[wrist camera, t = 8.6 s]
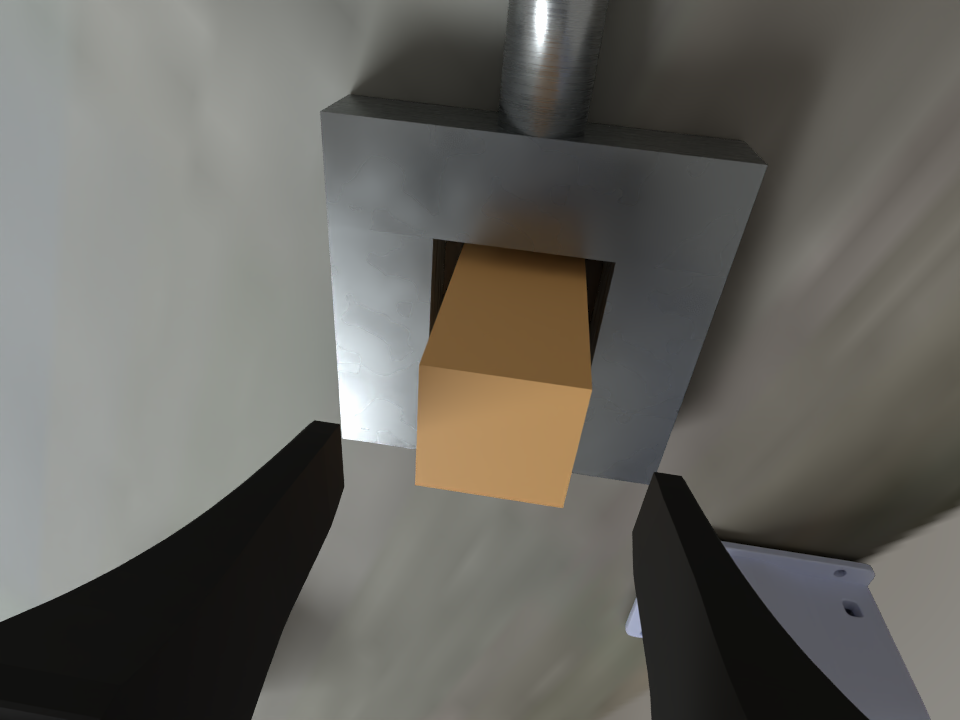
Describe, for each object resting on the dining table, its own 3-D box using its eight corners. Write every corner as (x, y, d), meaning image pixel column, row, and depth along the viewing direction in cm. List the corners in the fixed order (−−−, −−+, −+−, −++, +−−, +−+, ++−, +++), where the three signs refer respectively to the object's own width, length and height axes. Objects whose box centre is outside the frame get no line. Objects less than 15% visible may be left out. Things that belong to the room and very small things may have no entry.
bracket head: (869, -238, 13) (927, -277, 11) (645, 440, 24) (651, 485, 22) (333, -281, 13) (290, -325, 11) (361, 398, 25) (342, 438, 23)
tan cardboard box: (584, 248, 20) (592, 389, 13) (564, 345, 22) (562, 508, 16) (468, 232, 20) (418, 364, 13) (460, 331, 22) (415, 485, 16)
